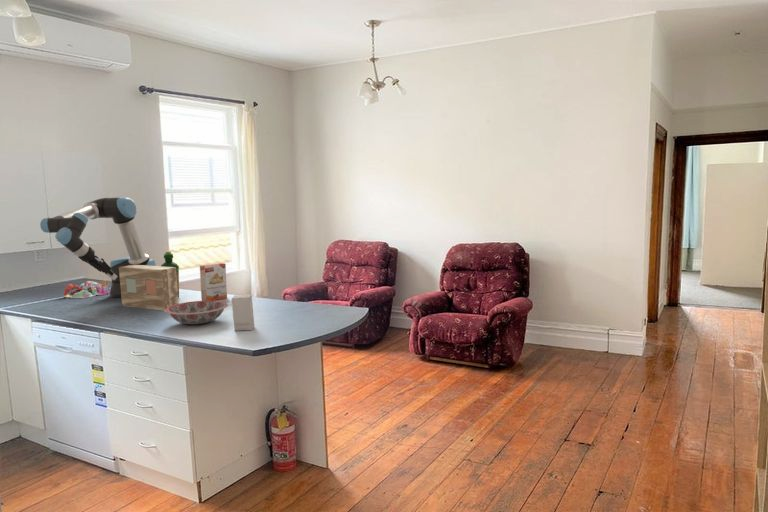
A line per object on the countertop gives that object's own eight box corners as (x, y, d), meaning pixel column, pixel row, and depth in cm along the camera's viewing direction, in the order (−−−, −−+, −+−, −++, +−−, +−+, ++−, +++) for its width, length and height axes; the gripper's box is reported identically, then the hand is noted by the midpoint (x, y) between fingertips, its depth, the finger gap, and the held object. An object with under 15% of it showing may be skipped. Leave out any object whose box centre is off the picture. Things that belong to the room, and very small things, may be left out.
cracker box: (207, 302, 324) (204, 266, 321) (201, 301, 328) (198, 265, 325) (228, 298, 335) (225, 263, 332) (221, 297, 339) (219, 262, 336)
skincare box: (254, 327, 264) (252, 294, 262) (252, 330, 257) (250, 297, 255) (236, 327, 263) (234, 294, 261) (233, 331, 257) (231, 297, 255)
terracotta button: (156, 295, 306) (155, 280, 305) (146, 294, 310) (145, 279, 309) (161, 294, 309) (160, 279, 308) (151, 293, 313) (149, 278, 312)
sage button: (136, 293, 314) (135, 278, 313) (126, 292, 318) (125, 278, 317) (141, 292, 317) (140, 278, 316) (131, 291, 320) (130, 277, 319)
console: (164, 310, 305) (161, 270, 302) (122, 305, 321) (118, 267, 318) (178, 306, 314) (175, 267, 311) (137, 302, 330) (134, 264, 327)
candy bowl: (81, 291, 371) (80, 277, 370) (117, 291, 370) (115, 277, 369) (58, 299, 346) (57, 284, 345) (96, 298, 345) (94, 284, 344)
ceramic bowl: (193, 314, 294) (192, 299, 293) (241, 317, 284) (240, 302, 282) (152, 328, 267) (150, 311, 266) (202, 332, 257) (201, 315, 256)
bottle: (177, 299, 333) (173, 252, 330) (159, 300, 334) (155, 253, 330) (183, 296, 344) (180, 250, 340) (166, 296, 344) (162, 250, 341)
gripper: (71, 256, 290) (103, 283, 307) (87, 257, 284) (119, 284, 301) (79, 245, 294) (111, 271, 311) (95, 246, 288) (127, 273, 305)
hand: (115, 278), depth 306 cm, fingers closed
